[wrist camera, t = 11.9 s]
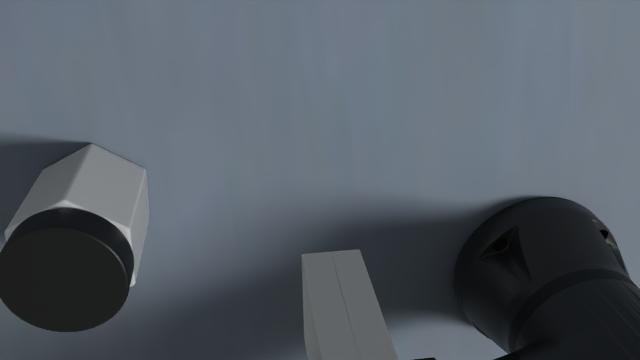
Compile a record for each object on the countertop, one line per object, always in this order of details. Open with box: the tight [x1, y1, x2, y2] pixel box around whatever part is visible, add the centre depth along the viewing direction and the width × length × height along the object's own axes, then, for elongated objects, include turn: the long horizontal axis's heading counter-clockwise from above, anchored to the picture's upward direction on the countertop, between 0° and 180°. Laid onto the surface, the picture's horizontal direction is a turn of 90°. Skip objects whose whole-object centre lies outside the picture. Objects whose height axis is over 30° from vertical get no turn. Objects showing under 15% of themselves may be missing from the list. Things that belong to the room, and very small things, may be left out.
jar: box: [0, 144, 150, 332], centre depth 44 cm, size 9×8×12 cm
